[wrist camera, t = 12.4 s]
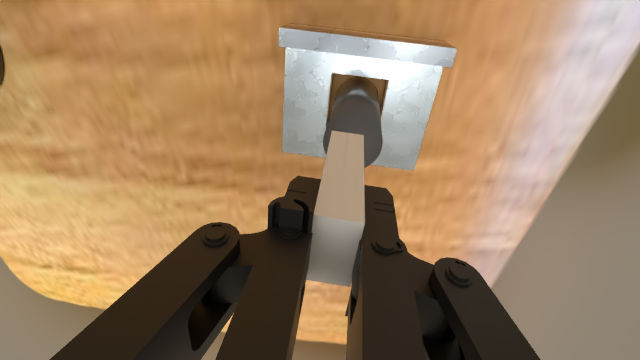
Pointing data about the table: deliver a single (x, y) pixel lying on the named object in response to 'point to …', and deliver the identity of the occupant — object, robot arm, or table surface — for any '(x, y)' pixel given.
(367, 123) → the dark grey round peg
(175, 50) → the table surface
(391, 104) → the plate
